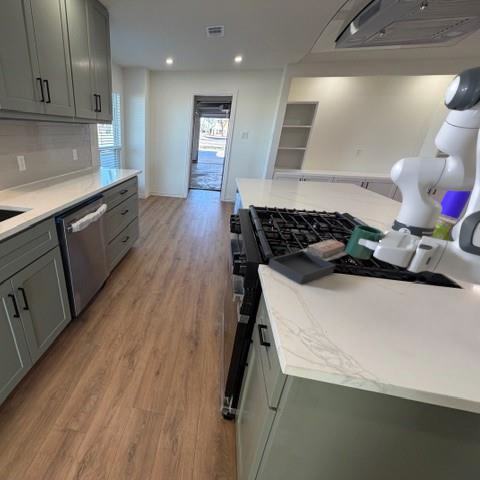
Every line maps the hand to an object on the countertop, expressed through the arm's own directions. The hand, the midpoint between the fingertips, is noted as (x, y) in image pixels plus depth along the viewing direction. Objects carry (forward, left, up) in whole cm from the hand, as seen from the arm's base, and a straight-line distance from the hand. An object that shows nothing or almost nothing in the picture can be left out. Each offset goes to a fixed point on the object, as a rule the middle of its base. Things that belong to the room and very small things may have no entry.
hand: (362, 237), depth 78 cm
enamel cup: (0, 0, -6) cm, 6 cm away
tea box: (-65, +1, -17) cm, 67 cm away
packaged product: (-14, -17, -17) cm, 28 cm away
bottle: (-99, -8, -17) cm, 101 cm away
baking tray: (+6, -13, -17) cm, 22 cm away
